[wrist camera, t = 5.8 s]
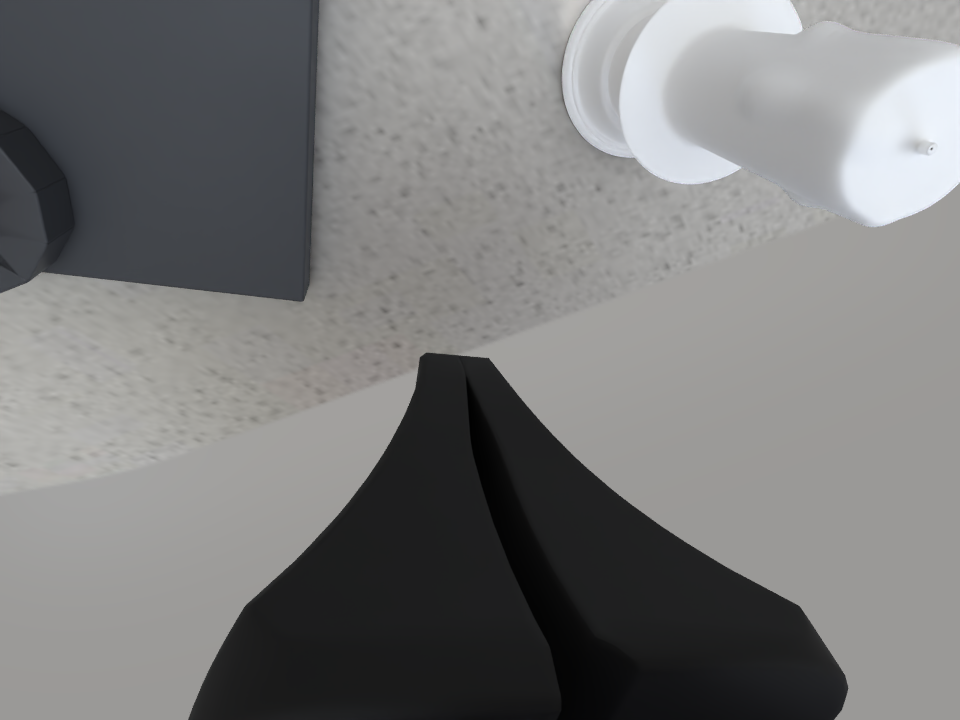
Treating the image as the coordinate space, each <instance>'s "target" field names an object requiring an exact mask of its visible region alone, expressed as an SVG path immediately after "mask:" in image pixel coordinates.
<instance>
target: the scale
mask: <svg viewBox="0 0 960 720" xmlns="http://www.w3.org/2000/svg"><path fill="white" fill-rule="evenodd" d="M318 14H319V0H0V293H2V292H5V291H7V290H10V289H12V288H15V287H17V286H20V285H22V284H25V283H27V282H29V281H30V280H31V279H33V278H34V277H35V276H37V275H38V274H39V273H41V272H47V273H55V274H64V275H73V276H82V277H90V278H99V279H108V280H117V281H125V282H134V283H143V284H152V285H160V286H169V287H178V288H187V289H195V290H204V291H213V292H222V293H231V294H239V295H248V296H257V297H266V298H274V299H283V300H292V301H304V299H305V296H306V293H307V290H308V287H309V276H310V246H311V217H312V188H313V159H314V130H315V101H316V72H317V43H318Z"/></svg>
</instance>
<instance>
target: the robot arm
mask: <svg viewBox="0 0 960 720" xmlns="http://www.w3.org/2000/svg"><path fill="white" fill-rule="evenodd" d="M847 691H848V685H847V681H846V678H845V675H844V673H843V671H842V670H841V668H840V667H839V665H838V664H837V662H836V661H835V659H834V658H833V656H832V655H831V653H830V651H829V650H828V648H827V647H826V645H825V644H824V642H823V641H822V639H821V638H820V636H819V635H818V633H817V632H816V630H815V629H814V627H813V625H812V624H811V622H810V621H809V620H808V618H807V616H806V615H805V614H804V612H803V611H802V609H801V608H800V606H798V605H796V604H794V603H793V602H791V601H789V600H787V599H785V598H783V597H781V596H779V595H778V594H776V593H774V592H772V591H770V590H768V589H766V588H764V587H762V586H761V585H759V584H757V583H755V582H753V581H751V580H749V579H747V578H746V577H743V576H742V575H740V574H738V573H736V572H734V571H732V570H730V569H729V568H727V567H725V566H723V565H722V564H720V563H718V562H717V561H715V560H714V559H712V558H710V557H709V556H707V555H705V554H704V553H702V552H700V551H699V550H697V549H696V548H694V547H692V546H691V545H689V544H687V543H686V542H684V541H683V540H681V539H680V538H678V537H677V536H675V535H674V534H672V533H670V532H669V531H668V530H666V529H664V528H663V527H661V526H660V525H659V524H657V523H656V522H654V521H653V520H652V519H650V518H649V517H648V516H646V515H645V514H644V513H642V512H641V511H639V510H638V509H637V508H635V507H634V506H632V505H631V504H630V503H628V502H627V501H626V500H624V499H623V498H622V497H621V496H619V495H618V494H617V493H616V492H614V491H613V490H612V489H611V488H609V487H608V486H607V485H606V484H605V483H604V482H602V481H601V480H600V479H599V478H598V477H597V476H595V475H594V474H593V473H592V472H591V471H589V470H588V469H587V468H586V467H585V466H584V465H583V464H582V463H581V462H580V461H579V460H577V459H576V458H575V457H574V456H573V455H572V454H571V453H570V452H569V451H568V450H567V449H566V448H565V447H564V446H563V445H562V444H561V443H560V442H559V441H558V440H557V439H556V438H555V437H554V436H553V435H552V433H551V432H550V431H549V430H548V429H547V428H546V427H545V426H544V425H543V424H542V423H541V422H540V420H539V419H538V418H537V417H536V416H535V415H534V414H533V412H532V411H531V410H530V409H529V408H528V407H527V406H526V404H525V403H524V402H523V401H522V399H521V398H520V397H519V396H518V395H517V393H516V392H515V391H514V390H513V388H512V387H511V386H510V385H509V383H508V382H507V381H506V380H505V378H504V377H503V376H502V374H501V373H500V372H499V371H498V369H497V368H496V367H495V366H494V364H493V363H492V362H491V361H490V359H489V358H480V357H470V356H458V355H447V354H436V353H425V354H424V355H423V356H421V357H420V361H419V368H418V375H417V382H416V388H415V391H414V394H413V396H412V399H411V401H410V404H409V406H408V408H407V411H406V413H405V415H404V417H403V419H402V421H401V423H400V425H399V427H398V429H397V431H396V433H395V434H394V436H393V438H392V440H391V442H390V444H389V445H388V447H387V449H386V451H385V452H384V454H383V455H382V457H381V458H380V460H379V462H378V463H377V464H376V466H375V467H374V469H373V470H372V472H371V473H370V475H369V476H368V478H367V479H366V481H365V482H364V483H363V484H362V486H361V487H360V488H359V489H358V491H357V492H356V494H355V495H354V496H353V497H352V499H351V500H350V502H349V503H348V504H347V505H346V506H345V507H344V509H343V510H342V511H341V512H340V513H339V515H338V516H337V517H336V518H335V519H334V520H333V521H332V522H331V523H330V525H329V526H328V527H327V528H326V529H325V530H324V531H323V532H322V533H321V534H320V535H319V536H318V537H317V538H316V539H315V541H314V542H313V543H312V544H311V545H310V546H309V547H308V548H307V549H306V550H305V551H304V552H303V553H302V554H301V555H300V556H299V557H298V558H297V560H295V561H294V562H293V563H292V564H291V565H290V566H289V567H288V568H287V569H285V570H284V571H283V572H282V573H281V574H280V575H279V576H278V577H277V578H276V579H275V580H273V581H272V582H271V583H270V584H269V585H268V586H267V587H266V588H265V589H263V590H262V591H261V592H260V593H259V594H258V595H257V596H256V597H255V598H253V599H252V600H251V601H250V602H249V603H248V604H247V605H246V606H245V607H244V609H243V610H242V612H241V614H240V615H239V617H238V619H237V620H236V622H235V624H234V625H233V627H232V629H231V631H230V632H229V634H228V636H227V637H226V639H225V641H224V643H223V645H222V646H221V648H220V650H219V652H218V654H217V656H216V658H215V660H214V661H213V663H212V665H211V667H210V669H209V671H208V673H207V676H206V678H205V680H204V682H203V684H202V686H201V689H200V691H199V694H198V696H197V699H196V701H195V703H194V706H193V708H192V711H191V714H190V717H189V719H188V720H834V719H835V718H836V716H837V715H838V714H839V713H840V711H841V710H842V707H843V704H844V702H845V698H846V695H847Z"/></svg>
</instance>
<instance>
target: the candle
mask: <svg viewBox="0 0 960 720" xmlns="http://www.w3.org/2000/svg"><path fill="white" fill-rule="evenodd" d="M562 89H563V96H564V101H565V105H566V108H567V111H568V114H569V116H570V118H571V120H572V122H573V124H574V126H575V127H576V129H577V130H578V132H579V133H580V134H581V135H582V136H583V137H584V139H586V140H587V141H588V142H589V143H590V144H591V145H593V146H594V147H596V148H597V149H599V150H601V151H603V152H605V153H608V154H611V155H614V156H619V157H628V158H633V157H635V158H636V160H637V161H638V162H639V163H640V164H641V165H642V166H643V167H644V168H645V169H646V170H648V171H649V172H650V173H652V174H653V175H655V176H657V177H659V178H661V179H663V180H666V181H669V182H673V183H679V184H701V183H707V182H711V181H714V180H718V179H720V178H723V177H725V176H728V175H730V174H732V173H734V172H736V171H737V170H739V169H741V168H744V169H746V170H748V171H751V172H753V173H755V174H757V175H759V176H761V177H763V178H765V179H767V180H769V181H771V182H773V183H775V184H777V185H778V186H780V187H781V188H782V189H783V190H784V191H785V192H786V194H787V195H788V196H789V198H790V199H792V200H793V201H795V202H796V203H798V204H799V205H802V206H807V207H815V208H821V209H825V210H827V211H830V212H832V213H835V214H837V215H840V216H842V217H845V218H847V219H849V220H852V221H854V222H857V223H859V224H861V225H864V226H868V227H879V226H884V225H887V224H889V223H892V222H894V221H896V220H899V219H902V218H905V217H908V216H911V215H913V214H916V213H918V212H920V211H922V210H924V209H926V208H927V207H929V206H931V205H933V204H934V203H935V202H937V201H939V200H940V199H941V198H943V197H944V196H945V195H947V194H948V193H949V192H950V191H951V190H952V189H953V188H954V187H956V185H958V183H959V182H960V46H959V45H956V44H953V43H949V42H945V41H939V40H931V39H923V38H913V37H904V36H894V35H884V34H873V33H866V32H861V31H857V30H854V29H851V28H849V27H846V26H844V25H842V24H840V23H838V22H834V21H822V22H819V23H816V24H814V25H812V26H810V27H808V28H806V29H804V30H803V29H802V25H801V22H800V19H799V16H798V14H797V12H796V10H795V8H794V6H793V5H792V3H791V2H790V0H592V1H591V2H590V3H589V4H588V6H587V7H586V8H585V10H584V11H583V12H582V14H581V16H580V17H579V19H578V21H577V22H576V24H575V26H574V28H573V31H572V33H571V35H570V38H569V41H568V44H567V47H566V51H565V55H564V60H563V68H562Z"/></svg>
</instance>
